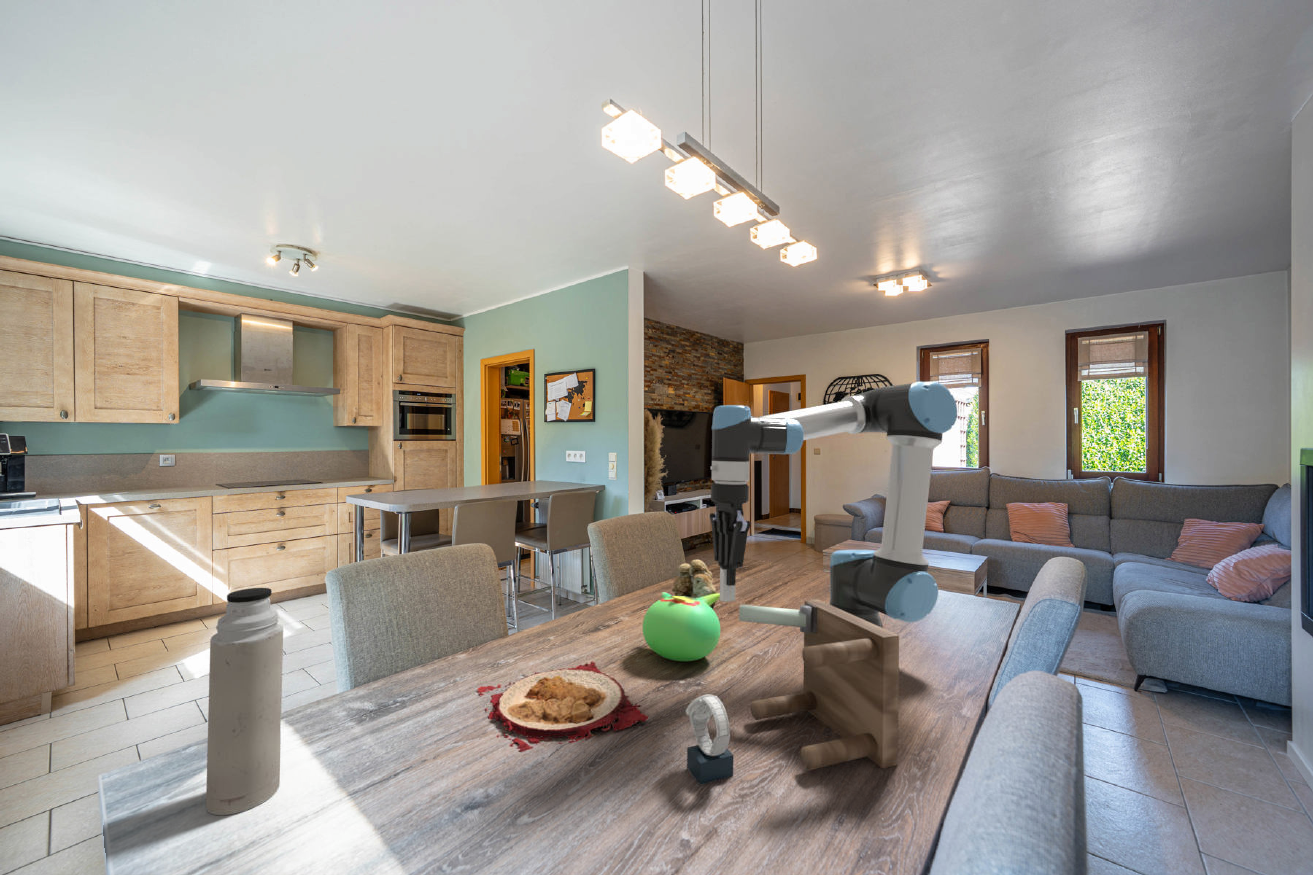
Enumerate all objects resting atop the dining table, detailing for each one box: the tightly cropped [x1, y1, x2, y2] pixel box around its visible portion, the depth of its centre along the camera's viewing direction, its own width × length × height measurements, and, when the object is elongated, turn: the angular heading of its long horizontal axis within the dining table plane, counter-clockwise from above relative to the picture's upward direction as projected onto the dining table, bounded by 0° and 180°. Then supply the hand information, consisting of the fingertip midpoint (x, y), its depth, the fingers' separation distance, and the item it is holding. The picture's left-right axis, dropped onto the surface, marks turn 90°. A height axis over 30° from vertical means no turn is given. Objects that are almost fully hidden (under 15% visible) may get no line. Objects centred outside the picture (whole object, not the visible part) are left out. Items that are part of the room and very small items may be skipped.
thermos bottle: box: [205, 587, 284, 816], centre depth 73 cm, size 8×8×28 cm
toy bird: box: [642, 591, 721, 662], centre depth 123 cm, size 18×17×15 cm
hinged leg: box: [738, 604, 812, 634], centre depth 99 cm, size 13×3×4 cm, turn 75°
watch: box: [685, 694, 734, 786], centre depth 80 cm, size 6×8×11 cm
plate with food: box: [477, 661, 649, 753], centre depth 99 cm, size 25×26×4 cm
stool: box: [749, 599, 900, 771], centre depth 89 cm, size 15×20×20 cm
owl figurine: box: [671, 559, 721, 623], centre depth 148 cm, size 18×12×17 cm, turn 34°
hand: (727, 600), depth 106 cm, fingers closed
